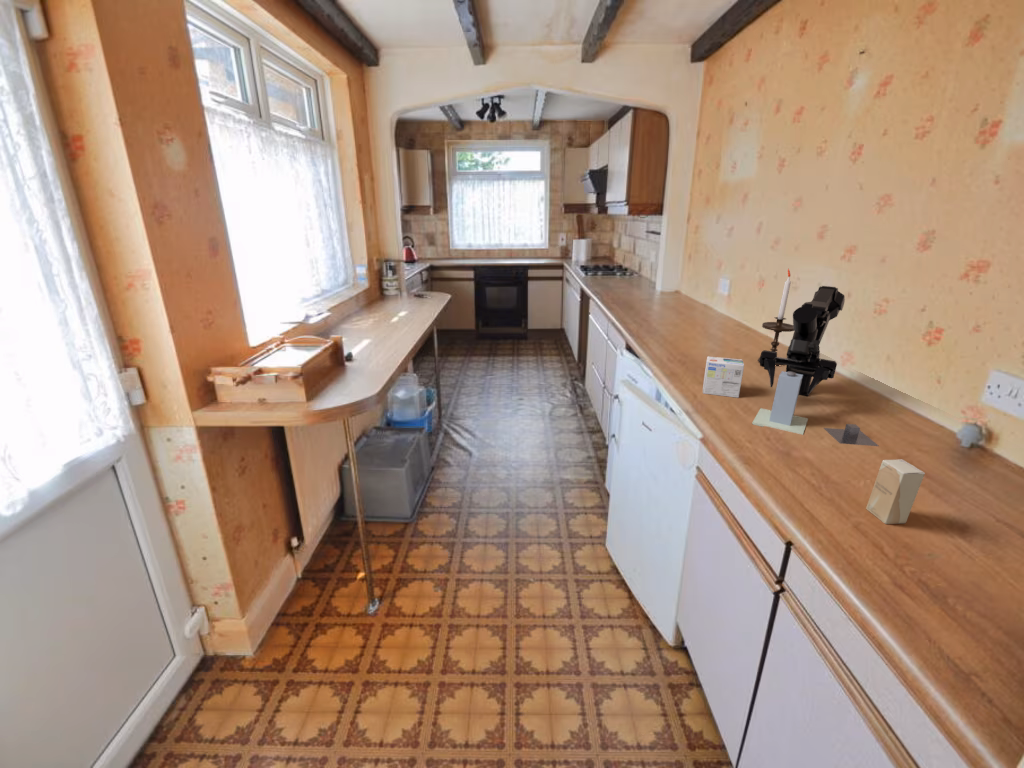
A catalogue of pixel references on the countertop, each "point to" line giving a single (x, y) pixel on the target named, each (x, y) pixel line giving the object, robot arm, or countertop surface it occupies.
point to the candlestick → (780, 318)
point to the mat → (764, 417)
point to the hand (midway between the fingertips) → (789, 389)
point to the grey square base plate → (850, 435)
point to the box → (894, 491)
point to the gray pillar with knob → (786, 397)
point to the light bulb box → (723, 376)
